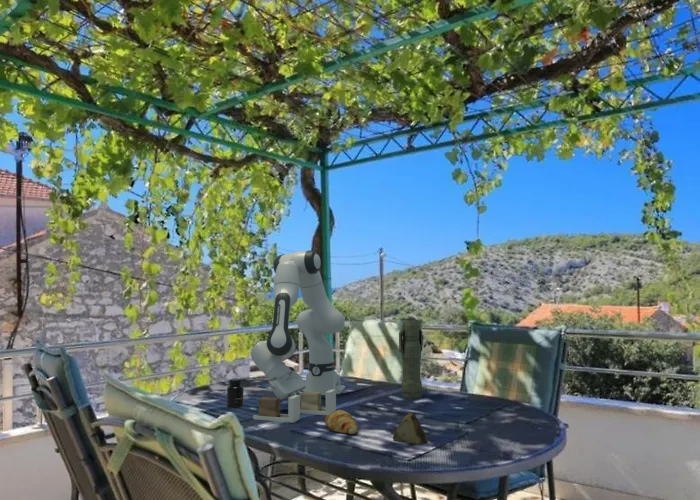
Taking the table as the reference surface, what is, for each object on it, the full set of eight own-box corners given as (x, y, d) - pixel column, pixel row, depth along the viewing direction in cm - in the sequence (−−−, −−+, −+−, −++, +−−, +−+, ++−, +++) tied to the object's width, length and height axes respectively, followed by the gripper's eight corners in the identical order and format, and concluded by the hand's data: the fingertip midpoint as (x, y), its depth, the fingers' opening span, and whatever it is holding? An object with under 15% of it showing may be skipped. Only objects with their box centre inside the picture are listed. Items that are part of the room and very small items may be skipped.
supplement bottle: (239, 410, 238) (239, 381, 239) (224, 409, 240) (224, 380, 240) (246, 406, 245) (245, 378, 246) (230, 406, 247) (230, 377, 247)
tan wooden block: (305, 410, 232) (305, 391, 232) (321, 411, 230) (320, 392, 230) (301, 412, 229) (300, 393, 229) (317, 413, 226) (317, 394, 226)
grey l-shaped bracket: (260, 418, 224) (260, 392, 225) (300, 421, 218) (299, 395, 219) (253, 421, 219) (252, 395, 220) (293, 425, 213) (293, 398, 214)
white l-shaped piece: (297, 411, 234) (297, 387, 235) (336, 414, 228) (335, 389, 229) (291, 415, 229) (290, 390, 229) (330, 418, 223) (330, 392, 223)
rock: (383, 434, 191) (401, 436, 183) (394, 410, 195) (412, 412, 187) (406, 450, 195) (425, 453, 186) (416, 426, 199) (435, 428, 190)
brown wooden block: (263, 416, 223) (263, 397, 223) (280, 417, 220) (279, 398, 221) (259, 418, 219) (258, 399, 220) (275, 420, 217) (275, 400, 217)
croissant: (362, 445, 199) (371, 422, 201) (340, 435, 195) (349, 412, 197) (332, 430, 217) (341, 409, 219) (311, 420, 213) (320, 400, 215)
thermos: (395, 397, 260) (393, 318, 262) (415, 393, 267) (413, 317, 268) (408, 400, 253) (406, 320, 254) (428, 396, 259) (426, 318, 261)
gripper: (272, 374, 224) (294, 401, 220) (295, 366, 243) (316, 391, 239) (262, 385, 226) (284, 412, 222) (286, 376, 245) (307, 401, 241)
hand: (301, 401), depth 231 cm, fingers closed, pressing on tan wooden block
